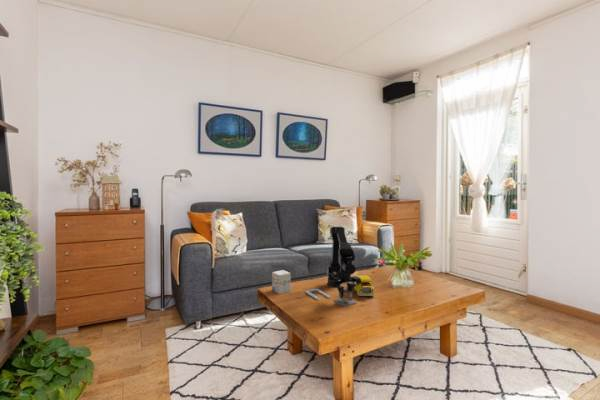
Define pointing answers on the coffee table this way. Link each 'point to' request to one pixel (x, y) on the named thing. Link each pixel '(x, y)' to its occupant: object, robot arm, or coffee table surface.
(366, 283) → the toy car
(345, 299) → the walnut block
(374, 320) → the coffee table surface
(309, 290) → the acrylic channel
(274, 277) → the ink box
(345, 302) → the slate coaster
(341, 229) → the robot arm
